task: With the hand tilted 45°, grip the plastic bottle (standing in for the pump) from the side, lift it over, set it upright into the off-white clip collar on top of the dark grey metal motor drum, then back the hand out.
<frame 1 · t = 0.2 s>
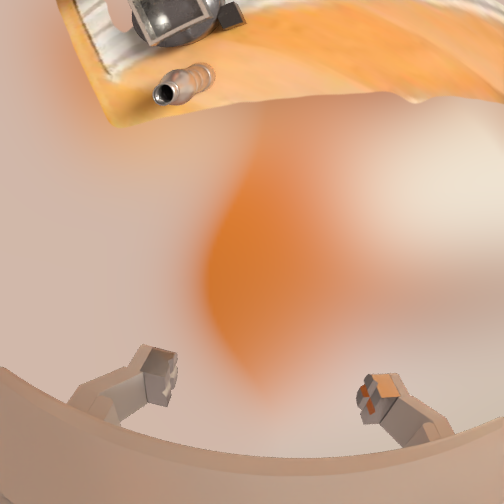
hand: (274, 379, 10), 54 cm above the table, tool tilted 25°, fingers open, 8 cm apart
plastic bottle: (203, 75, 47), on the table
motor: (181, 9, 36), on the table
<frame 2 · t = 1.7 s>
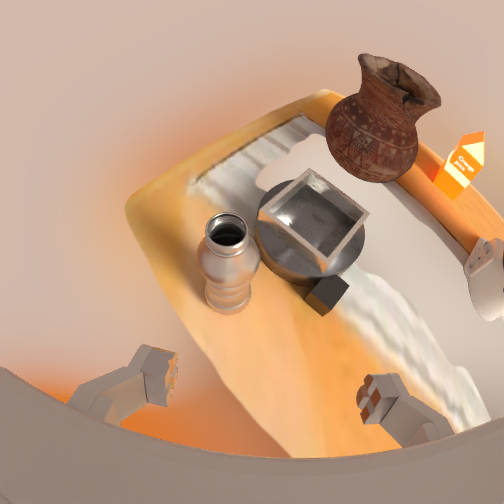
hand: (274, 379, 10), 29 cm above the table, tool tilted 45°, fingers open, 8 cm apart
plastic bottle: (228, 298, 41), on the table
jug: (360, 160, 58), on the table
orange juice: (445, 185, 58), on the table
motor: (306, 237, 47), on the table
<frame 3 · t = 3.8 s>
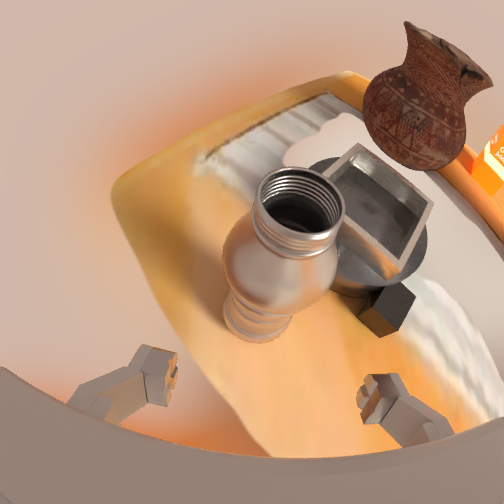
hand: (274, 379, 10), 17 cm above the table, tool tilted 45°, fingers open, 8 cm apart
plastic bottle: (254, 317, 29), on the table
jug: (398, 145, 46), on the table
orange juice: (481, 179, 46), on the table
motor: (352, 232, 34), on the table
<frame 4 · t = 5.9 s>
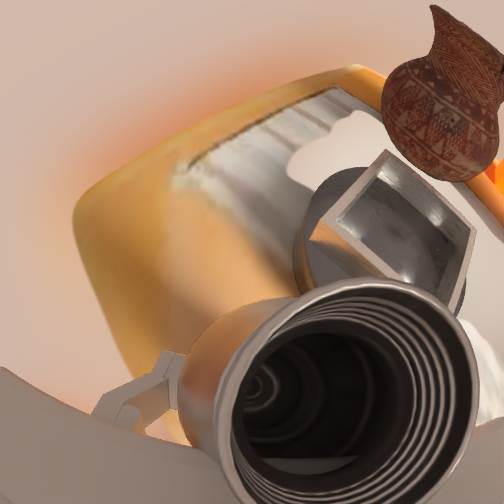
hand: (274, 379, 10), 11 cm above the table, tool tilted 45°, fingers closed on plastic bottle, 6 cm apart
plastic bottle: (250, 386, 20), on the table, touching gripper
jug: (420, 150, 37), on the table
motor: (376, 265, 26), on the table
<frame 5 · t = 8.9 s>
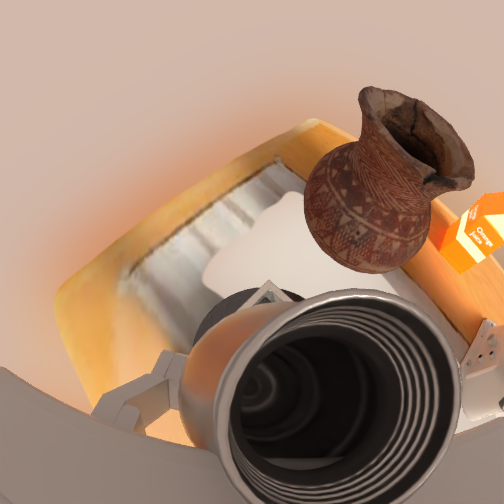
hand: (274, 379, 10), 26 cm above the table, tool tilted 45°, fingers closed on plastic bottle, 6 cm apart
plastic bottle: (248, 386, 21), point 14 cm above the table, touching gripper
jug: (349, 231, 47), on the table
orange juice: (453, 251, 48), on the table
motor: (262, 360, 35), on the table
when the fingers open (18 cm above the table, at t = 11.7 s): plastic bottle stays where it is, resting on motor.
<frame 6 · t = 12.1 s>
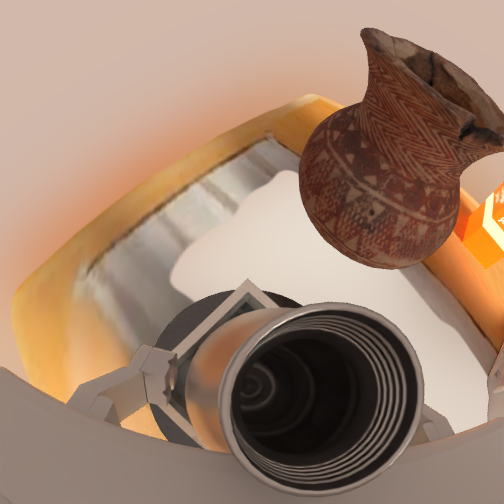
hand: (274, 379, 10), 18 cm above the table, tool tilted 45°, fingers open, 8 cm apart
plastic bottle: (249, 386, 22), point 5 cm above the table, touching motor
jug: (358, 217, 37), on the table
orange juice: (477, 242, 38), on the table
motor: (245, 384, 26), on the table
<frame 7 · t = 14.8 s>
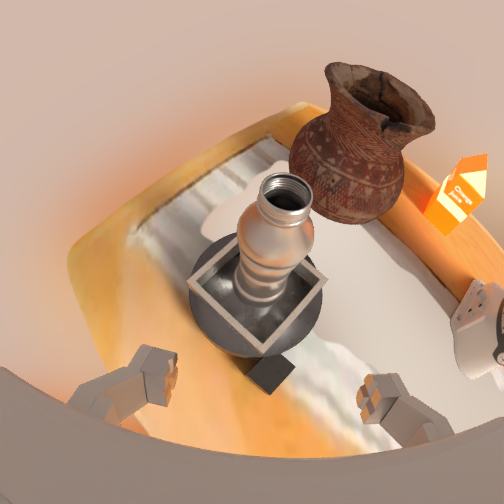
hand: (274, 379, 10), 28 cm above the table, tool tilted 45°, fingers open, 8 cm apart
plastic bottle: (257, 289, 36), point 5 cm above the table, touching motor
jug: (334, 192, 52), on the table
orange juice: (438, 215, 52), on the table
motor: (253, 299, 40), on the table
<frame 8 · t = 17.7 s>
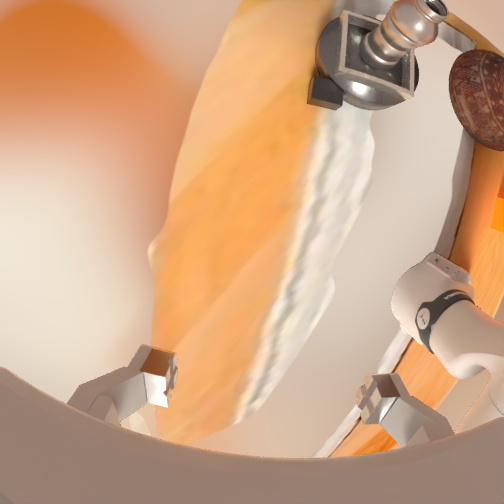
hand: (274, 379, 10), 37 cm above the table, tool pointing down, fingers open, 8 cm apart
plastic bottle: (373, 56, 32), point 5 cm above the table, touching motor
jug: (470, 103, 36), on the table
orange juice: (502, 216, 43), on the table
motor: (363, 65, 36), on the table
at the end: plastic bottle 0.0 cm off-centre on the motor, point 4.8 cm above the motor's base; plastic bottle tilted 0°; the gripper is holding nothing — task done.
